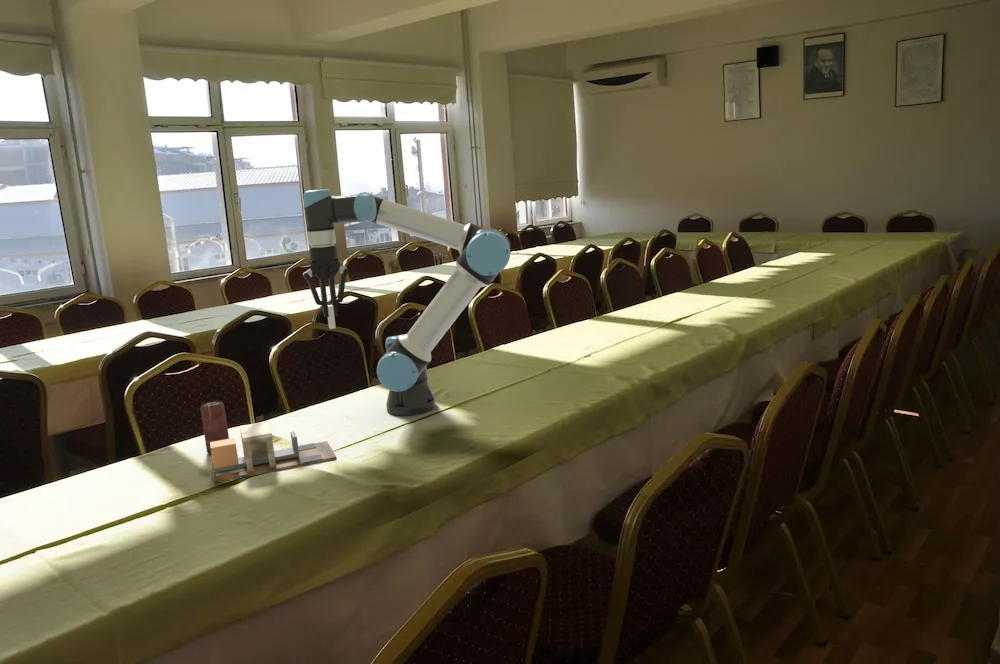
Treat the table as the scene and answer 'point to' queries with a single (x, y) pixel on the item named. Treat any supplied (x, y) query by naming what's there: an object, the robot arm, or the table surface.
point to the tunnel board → (272, 453)
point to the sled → (228, 459)
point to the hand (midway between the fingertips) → (332, 327)
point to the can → (214, 422)
